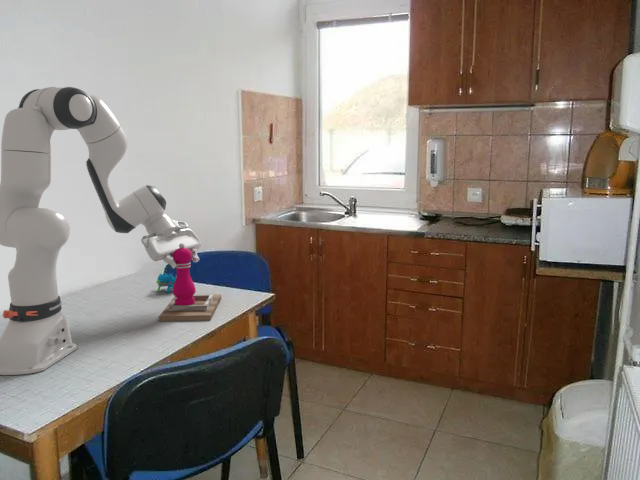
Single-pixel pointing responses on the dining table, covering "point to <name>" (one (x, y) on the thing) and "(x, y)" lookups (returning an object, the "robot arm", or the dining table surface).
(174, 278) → the toy dinosaur
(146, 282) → the dining table surface
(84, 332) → the dining table surface
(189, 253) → the pepper mill
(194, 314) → the walnut board
